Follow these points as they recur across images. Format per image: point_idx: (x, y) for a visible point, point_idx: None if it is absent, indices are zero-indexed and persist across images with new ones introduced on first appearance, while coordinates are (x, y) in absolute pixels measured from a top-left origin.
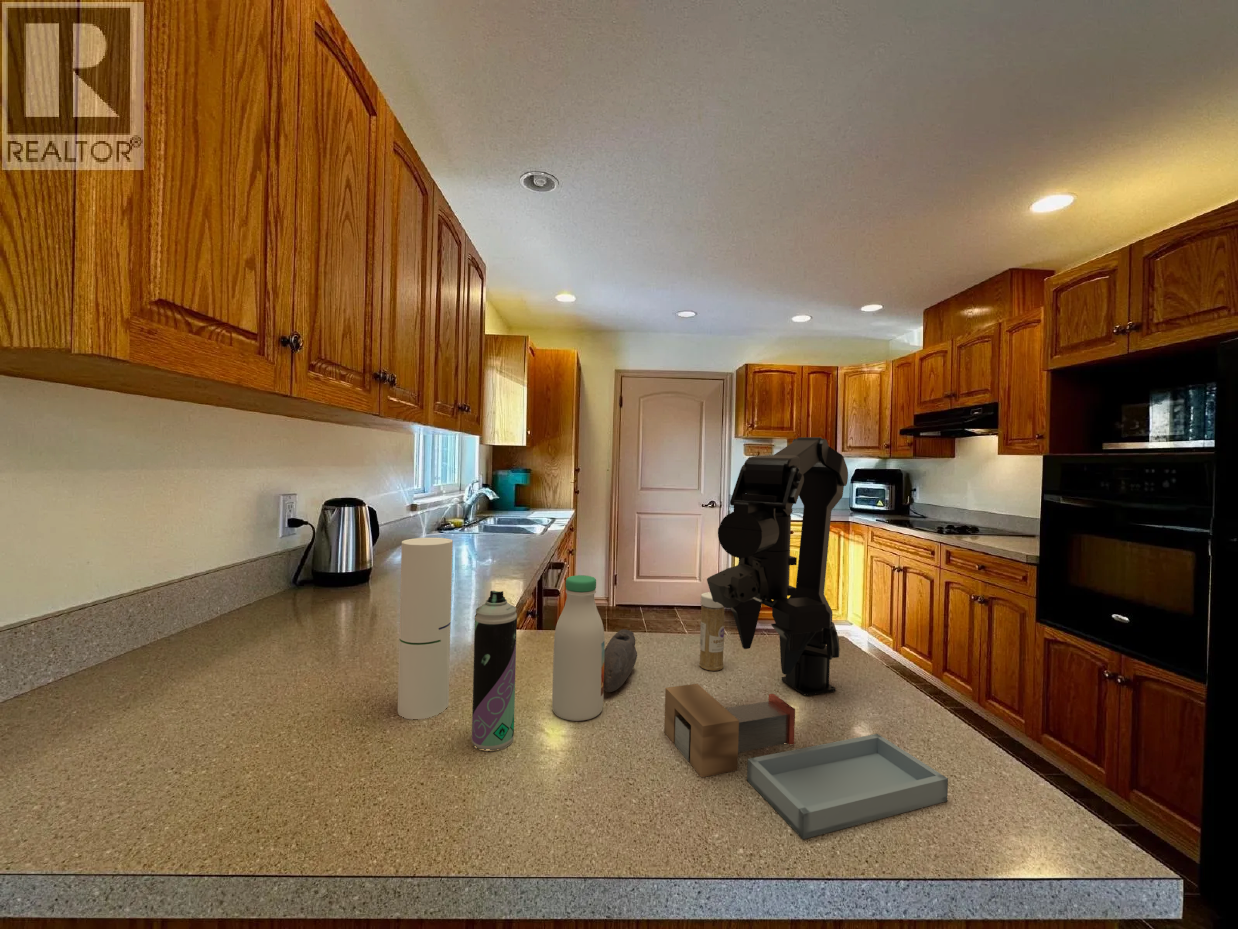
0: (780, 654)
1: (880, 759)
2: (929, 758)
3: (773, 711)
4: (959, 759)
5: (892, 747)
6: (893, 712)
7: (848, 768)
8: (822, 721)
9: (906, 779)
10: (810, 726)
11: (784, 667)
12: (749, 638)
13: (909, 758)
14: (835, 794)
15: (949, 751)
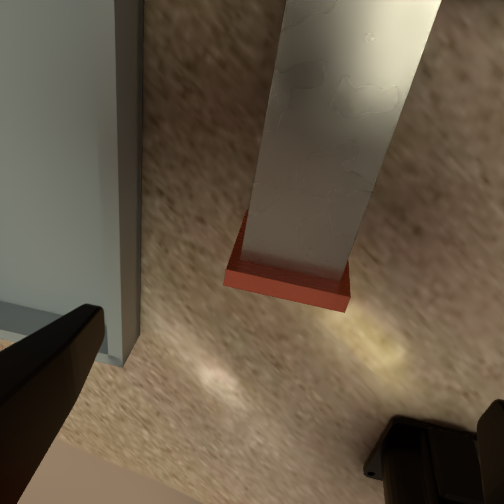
0: (18, 381)
1: None
2: (98, 383)
3: (279, 236)
4: (83, 410)
5: None
6: (242, 465)
7: (90, 235)
8: (288, 356)
9: (29, 293)
10: (286, 320)
11: (46, 325)
12: (499, 485)
13: (23, 334)
14: (4, 118)
15: (107, 420)
